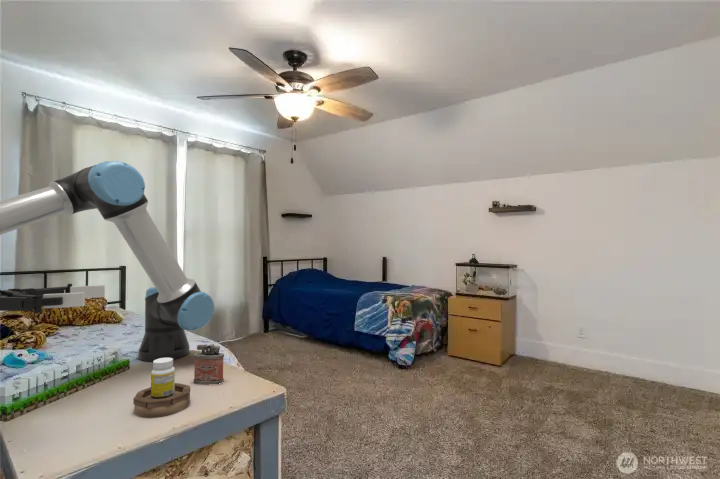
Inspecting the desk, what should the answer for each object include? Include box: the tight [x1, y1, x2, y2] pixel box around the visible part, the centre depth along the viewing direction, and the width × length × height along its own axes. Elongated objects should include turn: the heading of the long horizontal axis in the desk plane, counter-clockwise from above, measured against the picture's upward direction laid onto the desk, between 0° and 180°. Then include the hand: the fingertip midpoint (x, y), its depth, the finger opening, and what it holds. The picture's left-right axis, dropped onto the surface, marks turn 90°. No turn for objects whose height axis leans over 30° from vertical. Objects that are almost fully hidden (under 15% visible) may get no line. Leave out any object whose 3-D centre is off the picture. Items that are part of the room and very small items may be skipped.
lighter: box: [193, 343, 225, 386], centre depth 99 cm, size 8×3×10 cm, turn 84°
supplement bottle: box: [150, 358, 176, 400], centre depth 83 cm, size 5×5×8 cm
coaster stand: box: [132, 382, 191, 419], centre depth 83 cm, size 11×11×3 cm
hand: (95, 294), depth 81 cm, fingers open, 13 cm apart
